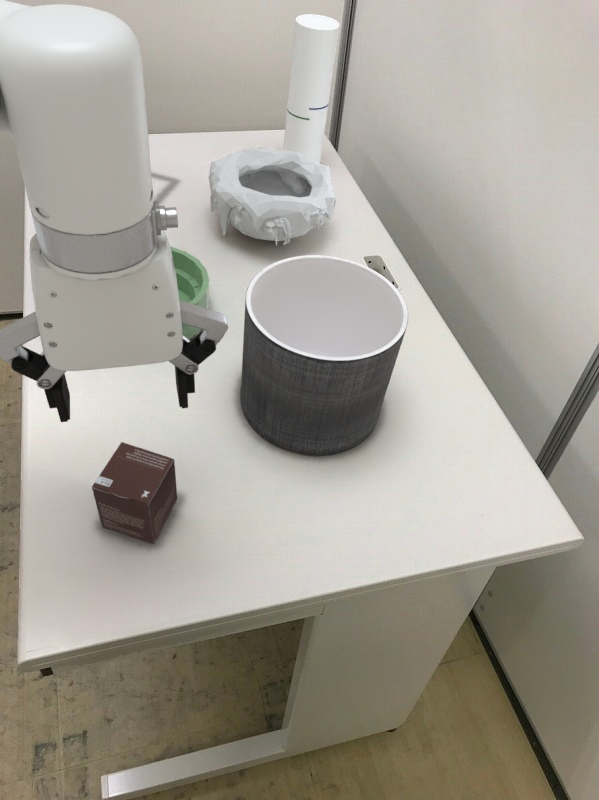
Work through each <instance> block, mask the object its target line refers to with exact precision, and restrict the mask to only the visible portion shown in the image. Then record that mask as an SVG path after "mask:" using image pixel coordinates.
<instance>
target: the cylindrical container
mask: <svg viewBox="0 0 599 800" xmlns="http://www.w3.org/2000/svg"><path fill="white" fill-rule="evenodd" d="M340 25H341V24H340V22H339V21H338V20H336V19H334V18H332V17H330V16H327V15H322V14H318V13H317V14H315V13H306V14H305V13H304V14H300V15H297V16H296V17H295V23H294V32H293V33H294V34H293V44H292V52H291V53H292V54H291V65H290V74H289V84H288V85H289V86H288V94H287V105H286V115H285V126H284V136H283V147H282V151H292V152H298V153H301V154H303V155H305V156H307V157H309V158H310V159H312V160H314V161H316V162H318V163H320V164H321V159H322V152H323V145H324V139H325V132H326V124H327V118H328V112H329V104H330V103H329V102H330V97H331V90H332V83H333V76H334V69H335V61H336V54H337V48H338V41H339V35H340V34H339V33H340Z"/></svg>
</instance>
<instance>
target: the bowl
mask: <svg viewBox="0 0 599 800" xmlns="http://www.w3.org/2000/svg"><path fill="white" fill-rule="evenodd" d="M208 173H209V174H208V183H209V188H210V196H209V199H210V212H216V213H217V214H218V217H219V221H220V229H221V235H222V237H223V236H226V234H227V230H228V227H229V224H230V225H231V226H233V227H234V228H235V229H237V230H238V231H239V232H240V234H242V235H245V236H248V237H251V238H252V239H256V240H265V241H272V242H273V241H274V242H275V246H278V242H282V241H284V242H283V244H282V245H283V246H285V245H288V244H289V243H290V242H291V239H294V238H299V237H302V236H305V235H306V234H307V233H308V232H309V231H312V229H314V230H315V229H316V226H317V229H319V227H321V229H322V233H325V232H324V230H325V228H324V227H326V221H327V220H326V219H327V218H328V219H329V221H334V219H333V218H334V210H335V206H336V201H337V200H336V199H337V197H336V193H335V186H334V184H333V181H332V180H333V179H332V178H331V169H330V166H329V165H325V164H322V163H321V162H320V163H318V162H316V161H314V160H312V159H310V158H309V157H307V156H305V155H303V154H301V153H298V152H292V151H283V150H278V149H277V150H276V149H272V148H270V147H267V146H265V147H253V146H251V147H248V148H245V149H242V150H238V151H236V152H233V153H230V154H227V155H225V156H224V157H222V158H220V159H216V160H213V161H211V162H210V167H209V172H208Z"/></svg>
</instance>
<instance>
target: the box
mask: <svg viewBox="0 0 599 800" xmlns="http://www.w3.org/2000/svg"><path fill="white" fill-rule="evenodd" d="M175 462H176V461H175V458H172V457H169V456H166V455H163V454H161V453H158V452H154V451H151V450H148V449H144V448H141V447H138V446H135V445H133V444H129V443H126V442H122V441H121V442H120V443H119V445H118V447H117V448H116V449H115V451H114V452H113V454H112V455H111V457H110V459H109V460H108V462H107V463H106V465H105V467H104V468H103V469H102V471H101V472H100V474H99V475H98V476H97V478H96V480H95V481H94V482H93V484H92V486H91V490H92V492H93V493H92V494H93V498H94V501H95V505H96V509H97V513H98V517H99V520H100V525H101V527H103V528H105V529H109V530H113V531H114V532H115V531H116V532H118V533H121V534H124V535H127V536H130V537H133V538H136V539H139V540H142V541H145V542H148V543H150V544H154V543H155V542H156V540H157V538H158V536H159V535H160V533H161V531H162V529H163V527H164V525H165V523H166V521H167V520H168V517H169V515H170V513H171V512H172V510H173V507H174V506H175V504H176V502H177V501H178V491H177V490H178V489H177V477H176V465H175Z"/></svg>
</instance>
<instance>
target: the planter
mask: <svg viewBox="0 0 599 800" xmlns="http://www.w3.org/2000/svg"><path fill="white" fill-rule="evenodd" d="M244 301H245V302H244V303H245V305H244V318H243V319H244V320H243V339H242V340H243V341H242V362H241V379H240V380H241V383H240V391H239V403H240V408H241V410H242V412H243V416H244V417H245V420H246V421H247V422H248V424H249V425H250V426H251V428H252V429H253V430H254V431H255V432H256V433H257V434H258V435H259V436H261V437H262V438H263V439H265V440H266V441H267V442H269V443H271V444H273V445H274V446H277V447H279V448H281V449H285V450H286V451H290V452H292V453H297V454H303V455H313V456H324V455H333V454H337V453H342V452H344V451H347V450H349V449H352V448H354V447H356V446H357V445H359V444H360V443H362V442H363V441H364V440H366V439H367V438H368V437H369V436H370V435H371V434H372V432H373V431H374V430H375V428H376V426H377V424H378V421H379V418H380V414H381V409H382V406H383V403H384V400H385V396H386V394H387V391H388V387H389V384H390V382H391V378H392V375H393V372H394V369H395V365H396V363H397V362H396V361H397V359H398V356H399V353H400V350H401V346H402V343H403V341H404V337H405V335H406V330H407V327H408V324H409V309H408V306H407V303H406V300H405V298H404V297H403V295H402V294H401V292H400V291H399V289H398V288H397V287H396V286H395V285H394V284H393V283H392V282H391V281H390V280H389V279H387V278H386V277H385V276H384V275H382V274H380V273H379V272H377V271H376V270H375V269H373V268H370V267H368V266H366V265H364V264H362V263H359V262H357V261H353V260H350V259H347V258H342V257H338V256H333V255H323V254H322V255H321V254H307V255H296V256H291V257H286V258H284V259H280V260H277V261H275V262H273V263H271V264H269V265H267V266H264V268H262V269H261V270H260V271H258V272H257V274H256V275H255V276H254V277H253V278H252V279H251V280H250V282H249V284H248V286H247V289H246V292H245V300H244Z"/></svg>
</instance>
